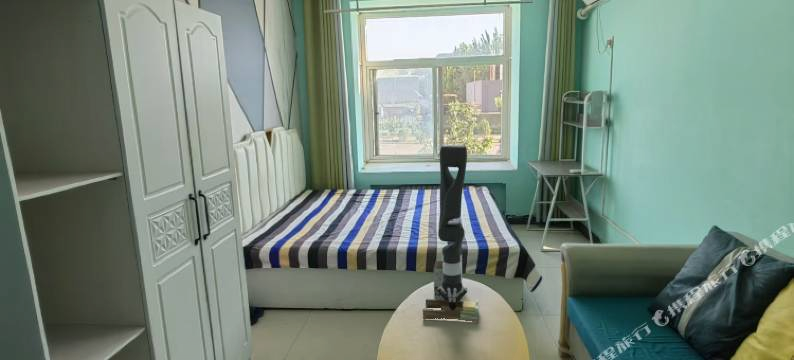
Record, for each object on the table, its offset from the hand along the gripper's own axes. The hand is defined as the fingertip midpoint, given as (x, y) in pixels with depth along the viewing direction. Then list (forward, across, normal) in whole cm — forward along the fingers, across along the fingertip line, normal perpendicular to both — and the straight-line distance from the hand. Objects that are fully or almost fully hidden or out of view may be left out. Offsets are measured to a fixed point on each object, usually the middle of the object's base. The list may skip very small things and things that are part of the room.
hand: (452, 309), depth 193 cm
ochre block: (+1, -7, +1) cm, 7 cm away
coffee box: (+3, +6, -16) cm, 17 cm away
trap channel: (+3, +1, 0) cm, 3 cm away
